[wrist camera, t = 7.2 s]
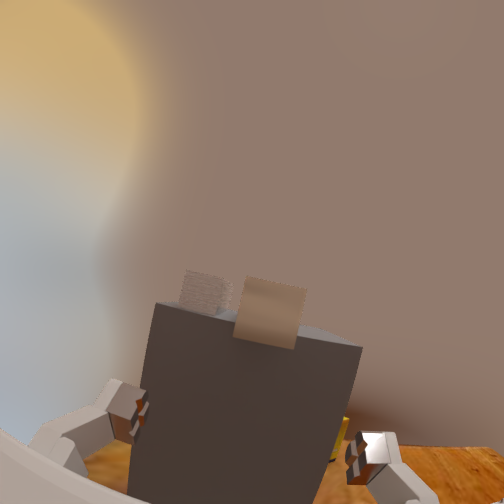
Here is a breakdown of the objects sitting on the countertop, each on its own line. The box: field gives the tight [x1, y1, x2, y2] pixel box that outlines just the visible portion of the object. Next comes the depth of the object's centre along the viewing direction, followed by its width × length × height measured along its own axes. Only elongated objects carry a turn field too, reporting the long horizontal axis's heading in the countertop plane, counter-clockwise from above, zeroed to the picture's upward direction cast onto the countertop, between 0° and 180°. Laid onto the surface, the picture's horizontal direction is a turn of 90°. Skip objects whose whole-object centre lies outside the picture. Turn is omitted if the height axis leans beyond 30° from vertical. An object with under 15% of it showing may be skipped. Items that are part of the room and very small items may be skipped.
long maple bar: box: [233, 276, 307, 350], centre depth 25 cm, size 20×3×3 cm, turn 0°
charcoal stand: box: [127, 302, 363, 504], centre depth 29 cm, size 16×16×30 cm
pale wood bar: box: [178, 270, 233, 317], centre depth 30 cm, size 12×3×3 cm, turn 0°
